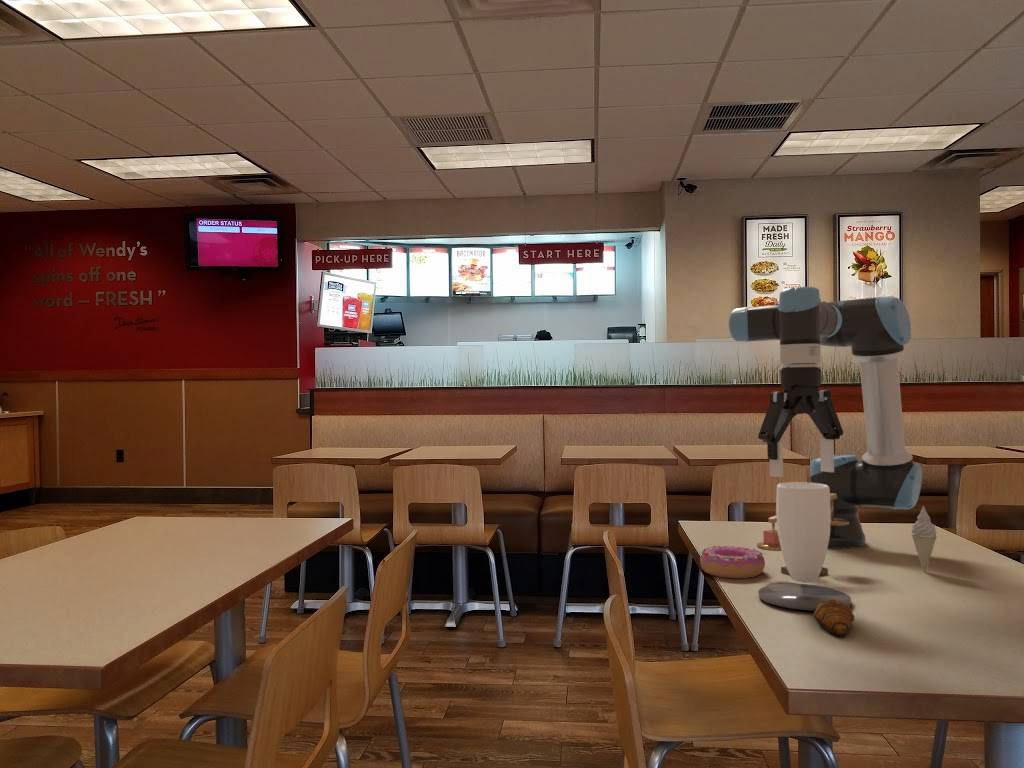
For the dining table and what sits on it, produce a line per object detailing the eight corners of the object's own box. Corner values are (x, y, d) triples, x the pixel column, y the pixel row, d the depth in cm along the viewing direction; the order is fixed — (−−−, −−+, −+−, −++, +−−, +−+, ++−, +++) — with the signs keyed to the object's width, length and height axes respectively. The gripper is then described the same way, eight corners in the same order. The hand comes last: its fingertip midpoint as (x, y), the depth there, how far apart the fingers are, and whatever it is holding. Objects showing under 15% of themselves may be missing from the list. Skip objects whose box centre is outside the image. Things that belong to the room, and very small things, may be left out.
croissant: (864, 641, 127) (863, 611, 127) (821, 639, 128) (820, 609, 128) (845, 616, 140) (845, 589, 140) (806, 615, 141) (806, 588, 141)
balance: (774, 583, 163) (772, 502, 163) (750, 576, 169) (749, 498, 169) (856, 570, 174) (855, 494, 174) (831, 563, 180) (830, 490, 180)
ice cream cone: (936, 570, 172) (935, 504, 172) (938, 575, 168) (937, 507, 168) (911, 568, 174) (910, 503, 174) (912, 573, 170) (911, 506, 170)
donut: (775, 571, 174) (775, 549, 174) (747, 584, 164) (746, 560, 164) (718, 562, 184) (718, 541, 184) (687, 573, 173) (687, 551, 173)
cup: (806, 605, 143) (805, 490, 143) (765, 592, 152) (763, 484, 152) (844, 597, 147) (843, 486, 148) (802, 585, 157) (800, 480, 157)
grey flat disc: (740, 596, 154) (740, 590, 154) (802, 585, 161) (802, 579, 161) (805, 618, 138) (805, 612, 138) (871, 606, 146) (870, 599, 146)
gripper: (766, 366, 141) (768, 480, 141) (861, 365, 152) (863, 471, 152) (738, 367, 148) (740, 476, 148) (830, 366, 159) (832, 467, 159)
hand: (802, 474), depth 150 cm, fingers open, 13 cm apart
